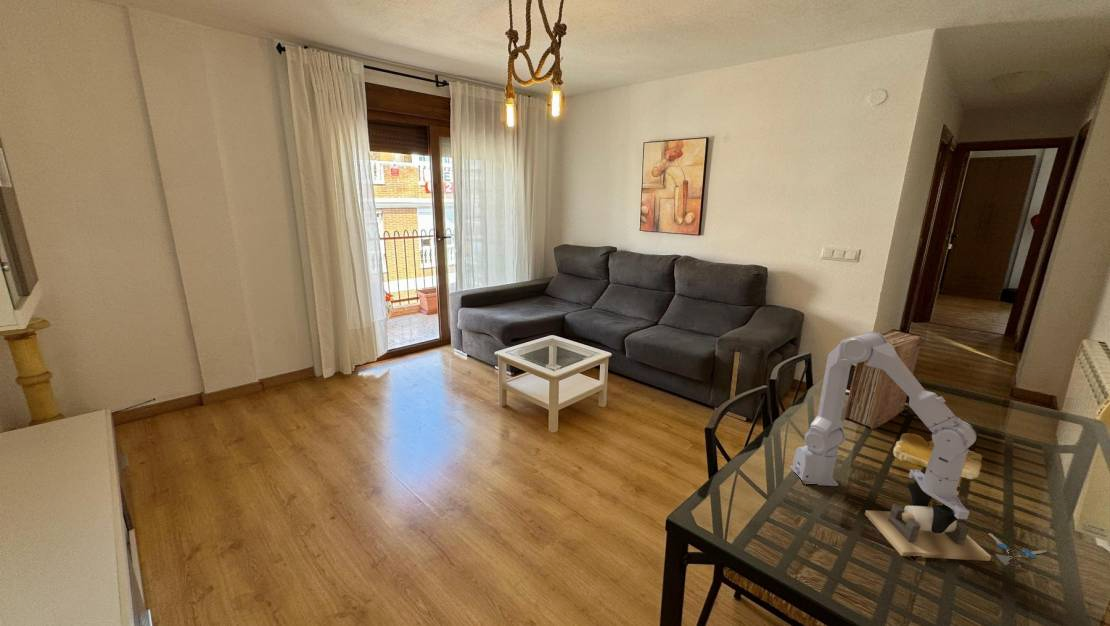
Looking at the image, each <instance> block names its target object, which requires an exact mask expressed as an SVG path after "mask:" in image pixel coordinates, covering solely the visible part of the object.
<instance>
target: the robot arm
mask: <svg viewBox="0 0 1110 626" xmlns="http://www.w3.org/2000/svg"><path fill="white" fill-rule="evenodd" d="M866 360H868V361H869V362H868V363H867V364H866V365H867V366H871V367H875V368H879V369H883V370H884V371H885V372H886V373H887V374H888V375H889V376H890V377H891V378H892V379H893V380H894V381H895V383H896V384H897V385H898V386H899V387H900V388H901V389H902V390H903V391H904V392H905V393H906V394H907V397H909V399H908V400H909V401H908V405H909V408H911V410H912V411H913V413H915V415H917V417H918V418H919V419H920V420H921V422H923V424H924V425H925V426H926V428H927V429H929V431H930V432H931V440H932V443H933V448H932V449H931V453H930V457H929V460H928V463H927V466H926V468H925V473H923V472H922V471H921V470H919V469H909V474H908V477H909V479H911V480H915V481H913V482H909V483H908V485H907V488H908V489H909V492H910V495H911V502H912V504H911V505H912V506H926V507H929V505H930V502H931V501H932V499H934V500H936V501H938V502H940V503H941V504H942V505H941V504H932V505H931V507H932V508H933V515H934V516H933V523H932V532H934V533H943V532H944V531H945V530H946V529H947V528H948V527H949V525H951V524H952V523H953V522H954V521H956V520H957V521H958V520H968V519H969V515H970V511H969V510H968V509H967V508H966V507H965V506H964V505H963V502H961V500H960V499H959V497H958V495H959V492H958V491H957V489H958V486H959V482H960V480H961V477H962V474H963V470H964V468H965V465H966V462H967V460H966V459H967V457H968V453H969V450H970V449H969V448H970V447H972V445H974V444H975V442H976V440H977V432H976V431H975V429H974V428H973V426H972V425H971V424H970V423H968V422H966V421H963V420H962V419H961V418H960V417H957V416H956V415H955V413H953V411H952V410H951V409H950V408H949V406H947V405H946V404H945V402H947V400H945V398H944V397H943V396H938V395H937V394H936V392H932V391H928V390H926V389H925V388H924V387H923V386H922V384H921V383H920V382H919V380H918V379H917V378H916V376H914V373H913V374H912V373H911V372H910V370H909V369H908V368H907V367H906V365H905V364H904V363H903V361H902V360H901V359H900V358H899V356H898V355H897V353H896V351H895V349H894V347H893V346H892V345H891V344H890V343H889V342H888V343H887V340H886V339H885V337H884V336H882V335H881V334H880V333H879V332H877V331H869V332H868V331H867V332H865V333H862V334H859V335H856V336H851V337H847V338H845V339H842V340H840V341H839V344H838V345H837V346H836V347H834V349H832V351H831V352H829V353H828V355H827V358H826V364H825V372H824V376H823V382H822V388H821V394H820V400H819V405H818V411H817V415H816V417H815V418H814V419H813V421H811V424H810V425H809V429H808V430H807V432H806V433H805V435H804V439H803V440H804V443H805V445H803V446H799V447H798V446H797V447H796V449H795V451H794V456H793V461H792V465H790V469H791V470H792V472H793V473H794V472H795V473H796V474H797V475H798V476H799V477H800V478H801V480H803V481H807V483H808V482H809V483H808V484H818V485H817V486H827V487H828V486H829V487H838V486H839V483H838V482H837V481H836V480H835V479H834V478H833V474H834V471H835V466H836V461H837V457H838V453H839V451H838V450H839V446H841V445H842V444H844V442H845V440H846V434H845V430H844V427H845V426H844V425H845V423H844V421H842V415H843V414H842V413H843V408H844V404H845V398H846V393H847V387H848V381H849V377H850V370H851V366H852V365H855V364H856V363H858V362H863V361H866ZM795 473H794V474H795ZM796 474H795V475H796ZM797 475H796V476H797ZM798 476H797V477H798ZM801 480H800V481H801Z"/></svg>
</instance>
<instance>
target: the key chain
mask: <svg viewBox="0 0 1110 626" xmlns="http://www.w3.org/2000/svg"><path fill="white" fill-rule="evenodd" d="M987 535H989V537H991V538H992V539H993V540H994V541H995V542H996V543H995V544H996V545H997V546H998V547H999V546H1000V547H999V548H1002V549H1003V550H1006V552H1007V554H1008V555H1004V554H1003V555H1002V554H997V553H996V554H995V556H996V557H997V558H998V560H1000V562H1001V563H1002V564H1003V565H1004V566H1006V565H1008V564H1009V562H1008V561H1009V560H1010V559H1012V558H1013V557H1012V556H1009V553H1011V552H1012V553H1013V551H1011V552H1010V551H1009V550H1010V549H1009V547H1008V548H1007V546H1008V545H1006V544H1005V543H1003V542H1002V541H1000V540H999V539H998V538H997V537H996V536H994V534H993V533H991V532H990V533H989V532H988V534H987ZM1008 551H1009V552H1008ZM1021 551H1022V552H1021V553H1023V554H1024V555H1026V558H1028V557H1029V558H1031V559H1037V555H1040V554H1044V553H1047V552H1048V551H1047V550H1045V549H1043V550H1042V549H1039V550H1034V551H1030V550H1029V549H1026V548H1022V549H1021ZM1018 554H1019V553H1018ZM1018 554H1017V555H1015V554H1013V555H1014V556H1016V558H1017V557H1019V558H1024V556H1023V555H1021V554H1019V555H1018ZM1010 557H1012V558H1010ZM1013 559H1014V558H1013ZM1014 560H1015V559H1014ZM1016 562H1017V561H1016ZM1016 562H1015V563H1016ZM1018 566H1019V567H1022V565H1020V564H1019V565H1018Z"/></svg>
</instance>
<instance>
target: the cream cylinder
mask: <svg viewBox="0 0 1110 626" xmlns="http://www.w3.org/2000/svg"><path fill="white" fill-rule="evenodd" d="M903 509H904V510H905V511H904V513H902V519H903V521H904V522H905V523H906V524H907V520H915V521H916V522H917V523H918V524H919V525H920V526H921V527H920V530H922V531H932V523H933V516H934V515H933V508H932V506H928V507H926V506H913V505H905V506H904V508H903ZM957 523H958V520H956V521H954V522H953V523H952V524H951V525H949V527H948V528H947V529H946V530H945V531H944V532H953V531H954V530H955V529H956V526H957Z"/></svg>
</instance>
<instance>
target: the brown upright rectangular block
mask: <svg viewBox="0 0 1110 626" xmlns="http://www.w3.org/2000/svg"><path fill="white" fill-rule="evenodd" d="M879 334H881V335H882V336H884V337H885V339H886V340H887V343H888V342H889V343H890V344H891V345H892V346H893V347H894V349H895V351H896V353H897V355H898V356H899V358H900V359H901V360H902V361H903V363H904V364H905V365H906V367H907V368H908V369H909V370H910V372H911V373H912V374H913V375H914V373H915V372H914V371H915V368H916V364H917V361H918V358H919V354H920V350H921V346H922V342H923V338H924V335H921V334H915V333H912V332H907V331H903V330H900V329H896V328H895V329H894V328H892V329H889V330H886V331H883V332H880V333H879ZM868 362H869V361H868V360H866V361H863V362H858V363H855V367H854V372H853V377H852V381H851V384H850V389H849V392H848V393H849V394H848V397H847V401H846V406H845V410H844V415H843V419H844V420H846V419H849V420H852V421H853V422H856V423H859V424H862V425H863V426H865V427H866V426H867V427H869V428H870V429H871V430H872V431H874V430H875V429H877V428H878V427H880V426H882V425H883V424H886V423H887V422H889V421H890V420H892V419H893V418H895V417H897V416H898V415H900V414H902V413H903V412H904V409H905V405H906V401H907V397H908V395H907V394H906V393H905V392H904V391H903V390H902V389H901V388H900V387H899V386H898V385H897V384H896V383H895V381H894V380H893V379H892V378H891V377H890V376H889V375H888V374H887V373H886V372H885V371H884V370H883V369H879V368H875V367H871V366H867V365H866V364H867V363H868ZM902 411H903V412H902ZM901 412H902V413H901ZM899 413H900V414H899Z"/></svg>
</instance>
